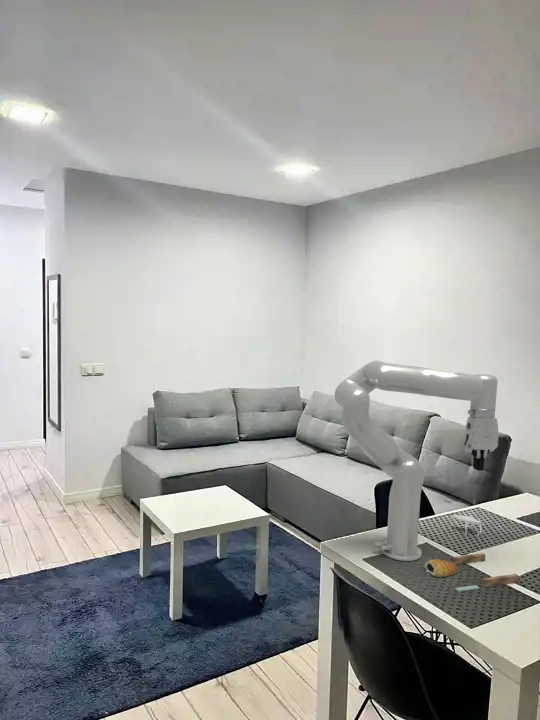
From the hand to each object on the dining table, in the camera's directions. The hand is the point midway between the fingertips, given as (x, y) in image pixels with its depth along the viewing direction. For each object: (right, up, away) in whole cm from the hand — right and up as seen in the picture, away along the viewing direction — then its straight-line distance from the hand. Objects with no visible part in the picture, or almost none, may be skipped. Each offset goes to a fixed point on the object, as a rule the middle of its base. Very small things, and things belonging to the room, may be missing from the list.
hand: (478, 469), depth 182 cm
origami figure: (+2, -26, +20) cm, 33 cm away
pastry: (-16, -28, -14) cm, 35 cm away
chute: (-3, -28, -13) cm, 31 cm away
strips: (-14, -28, -17) cm, 36 cm away
